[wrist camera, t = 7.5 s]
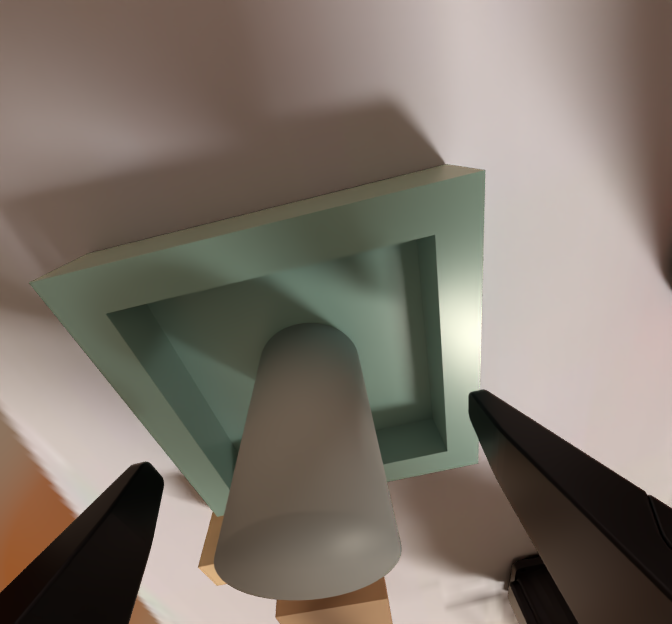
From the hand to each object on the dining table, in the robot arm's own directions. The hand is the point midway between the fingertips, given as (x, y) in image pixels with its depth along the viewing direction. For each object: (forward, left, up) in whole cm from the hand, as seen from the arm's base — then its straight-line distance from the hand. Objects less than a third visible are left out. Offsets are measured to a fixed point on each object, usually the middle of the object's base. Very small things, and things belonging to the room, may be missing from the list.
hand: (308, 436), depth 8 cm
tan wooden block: (+3, +20, -4) cm, 21 cm away
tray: (0, 0, -4) cm, 4 cm away
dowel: (0, 0, -3) cm, 3 cm away
